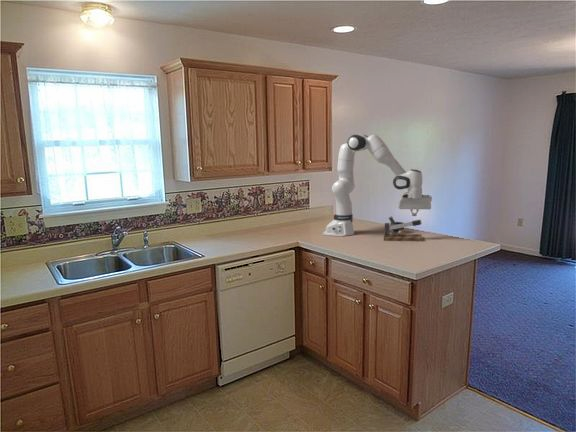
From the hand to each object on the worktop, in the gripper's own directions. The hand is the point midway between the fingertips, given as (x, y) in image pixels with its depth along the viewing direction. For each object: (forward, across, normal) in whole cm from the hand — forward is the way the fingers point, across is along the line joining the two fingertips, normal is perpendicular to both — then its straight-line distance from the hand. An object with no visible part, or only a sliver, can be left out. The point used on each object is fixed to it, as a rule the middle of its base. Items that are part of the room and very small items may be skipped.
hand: (414, 215), depth 267 cm
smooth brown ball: (+14, +8, 0) cm, 16 cm away
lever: (+7, +5, 0) cm, 9 cm away
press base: (+15, +7, 0) cm, 17 cm away
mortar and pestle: (+16, +11, -19) cm, 27 cm away
